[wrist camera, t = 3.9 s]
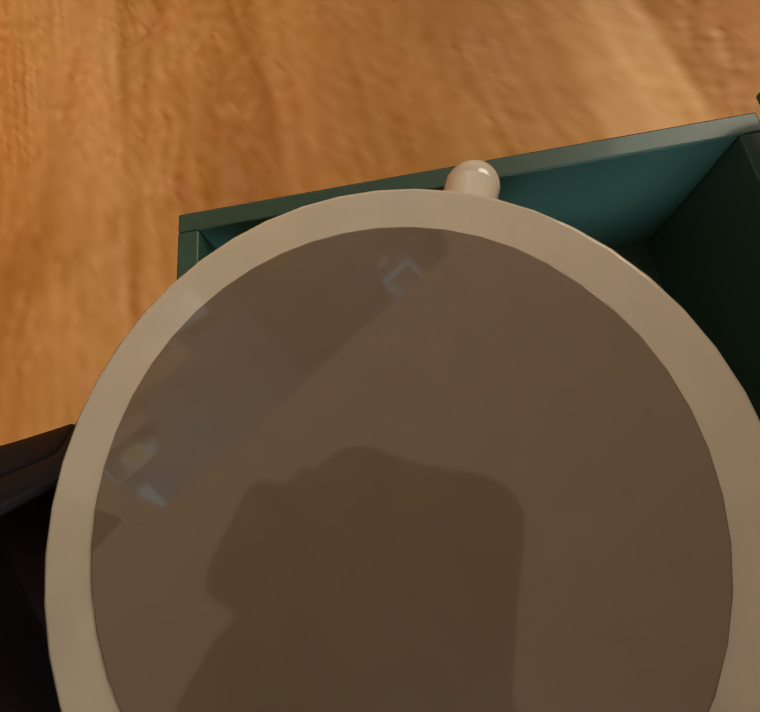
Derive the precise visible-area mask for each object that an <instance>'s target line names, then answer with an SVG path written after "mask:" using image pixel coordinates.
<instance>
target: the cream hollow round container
mask: <svg viewBox="0 0 760 712" xmlns="http://www.w3.org/2000/svg"><path fill="white" fill-rule="evenodd" d="M499 195H500V180H499V176H498V174H497V172H496V170H495V169H494V168H493V167H492V166H491V165H490V164H488V163H487V162H485V161H482V160H477V159H471V160H466V161H463V162H461V163H459V164H458V165H457V166H455V167H454V168H453V169H452V170H451V172H450V173H449V175H448V177H447V179H446V181H445V185H444V189H443V190H429V189H397V190H377V191H370V192H364V193H358V194H351V195H345V196H339V197H335V198H332V199H328V200H324V201H321V202H317V203H313V204H310V205H306V206H302V207H300V208H297V209H295V210H292V211H290V212H287V213H285V214H282V215H280V216H277V217H274V218H272V219H269V220H267V221H265V222H263V223H261V224H259V225H257V226H256V227H254V228H252V229H250V230H248V231H246V232H244V233H242V234H240V235H238V236H236V237H235V238H233V239H231V240H230V241H228V242H227V243H225V244H224V245H222V246H221V247H219V248H218V249H216V250H215V251H213V252H212V253H210V254H209V255H208V256H206V257H205V258H203V259H202V260H200V261H199V262H198V263H197V264H196V265H194V266H193V267H192V268H191V269H190V270H188V271H187V272H186V273H185V274H184V275H182V276H181V277H180V278H179V279H178V280H176V281H175V282H174V283H173V284H172V285H171V286H170V287H169V288H168V289H167V290H166V291H165V292H164V293H163V294H162V295H161V296H160V297H159V298H158V299H157V300H156V301H155V302H154V303H153V304H152V305H151V306H150V307H149V309H148V310H147V311H146V312H145V313H144V314H143V315H142V316H141V318H140V319H139V320H138V321H137V323H136V324H135V325H134V327H133V328H132V329H131V330H130V332H129V333H128V334H127V336H126V337H125V338H124V339H123V341H122V342H121V343H120V345H119V346H118V348H117V349H116V351H115V352H114V354H113V356H112V357H111V359H110V360H109V362H108V364H107V365H106V367H105V368H104V370H103V372H102V373H101V375H100V376H99V378H98V380H97V381H96V383H95V385H94V387H93V390H92V392H91V394H90V396H89V398H88V400H87V402H86V404H85V406H84V408H83V410H82V412H81V414H80V416H79V418H78V421H77V423H76V426H75V429H74V432H73V434H72V437H71V440H70V443H69V445H68V448H67V451H66V454H65V456H64V459H63V462H62V466H61V470H60V474H59V478H58V482H57V486H56V491H55V495H54V499H53V503H52V507H51V514H50V522H49V529H48V537H47V544H46V552H45V583H44V610H45V621H46V632H47V643H48V654H49V660H50V665H51V669H52V674H53V679H54V684H55V689H56V694H57V698H58V703H59V708H60V711H61V712H760V420H759V418H758V416H757V414H756V412H755V410H754V408H753V406H752V404H751V402H750V400H749V398H748V396H747V394H746V392H745V390H744V389H743V387H742V386H741V384H740V383H739V381H738V379H737V378H736V376H735V375H734V373H733V372H732V370H731V369H730V367H729V366H728V364H727V363H726V361H725V360H724V358H723V357H722V355H721V354H720V352H719V351H718V349H717V348H716V346H715V345H714V344H713V343H712V342H711V340H710V339H709V338H708V337H707V336H706V335H705V333H704V332H703V331H702V330H701V329H700V327H699V326H698V325H697V324H696V323H695V321H694V320H693V319H692V318H691V317H690V316H689V314H688V313H687V312H686V311H685V310H684V309H683V308H682V307H681V306H680V305H679V304H678V303H677V302H676V301H675V300H674V299H673V298H672V297H671V296H669V295H668V294H667V293H666V292H665V291H664V290H663V289H662V288H661V287H660V286H659V285H658V284H657V283H656V282H654V281H653V280H652V279H651V278H650V277H649V276H648V275H646V274H645V273H644V272H642V271H641V270H640V269H638V268H637V267H636V266H634V265H633V264H632V263H630V262H629V261H627V260H626V259H625V258H623V257H622V256H621V255H619V254H618V253H617V252H615V251H614V250H613V249H611V248H609V247H607V246H606V245H604V244H602V243H600V242H599V241H597V240H595V239H593V238H592V237H590V236H588V235H586V234H585V233H583V232H581V231H579V230H578V229H576V228H574V227H572V226H570V225H567V224H565V223H563V222H560V221H558V220H556V219H553V218H551V217H549V216H546V215H544V214H542V213H539V212H537V211H535V210H532V209H528V208H525V207H522V206H518V205H515V204H512V203H508V202H505V201H502V200H499Z"/></svg>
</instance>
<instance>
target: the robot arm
mask: <svg viewBox="0 0 760 712" xmlns="http://www.w3.org/2000/svg"><path fill="white" fill-rule="evenodd" d="M76 423H77V422H76ZM75 426H76V424H75V425H73V424H69V425H66V426H63V427H60V428H57V429H54V430H51V431H48V432H45V433H42V434H39V435H35V436H32V437H29V438H26V439H23V440H19V441H16V442H13V443H9V444H6V445H2V446H0V712H61V711H60V708H59V703H58V698H57V694H56V689H55V684H54V679H53V674H52V669H51V665H50V660H49V654H48V643H47V632H46V621H45V610H44V583H45V552H46V544H47V537H48V529H49V522H50V514H51V507H52V503H53V499H54V495H55V491H56V486H57V482H58V478H59V474H60V470H61V466H62V462H63V459H64V456H65V454H66V451H67V448H68V445H69V443H70V440H71V437H72V434H73V432H74V429H75Z"/></svg>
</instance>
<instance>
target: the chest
mask: <svg viewBox="0 0 760 712" xmlns="http://www.w3.org/2000/svg"><path fill="white" fill-rule="evenodd" d="M485 162H487V163H488V164H490V165H491V166H492V167H493V168H494V169H495V170H496V172H497V174H498V176H499V180H500V195H499V200H502V201H505V202H508V203H512V204H515V205H518V206H522V207H525V208H528V209H532V210H535V211H537V212H539V213H542V214H544V215H546V216H549V217H551V218H553V219H556V220H558V221H560V222H563V223H565V224H567V225H570V226H572V227H574V228H576V229H578V230H579V231H581V232H583V233H585V234H586V235H588V236H590V237H592V238H593V239H595V240H597V241H599V242H600V243H602V244H604V245H606V246H607V247H609V248H611V249H613V250H614V251H615V252H617V253H618V254H619V255H621V256H622V257H623V258H625V259H626V260H627V261H629V262H630V263H632V264H633V265H634V266H636V267H637V268H638V269H640V270H641V271H642V272H644V273H645V274H646V275H648V276H649V277H650V278H651V279H652V280H653V281H654V282H656V283H657V284H658V285H659V286H660V287H661V288H662V289H663V290H664V291H665V292H666V293H667V294H668V295H669V296H671V297H672V298H673V299H674V300H675V301H676V302H677V303H678V304H679V305H680V306H681V307H682V308H683V309H684V310H685V311H686V312H687V313H688V314H689V316H690V317H691V318H692V319H693V320H694V321H695V323H696V324H697V325H698V326H699V327H700V329H701V330H702V331H703V332H704V333H705V335H706V336H707V337H708V338H709V339H710V340H711V342H712V343H713V344H714V345H715V346H716V348H717V349H718V351H719V352H720V354H721V355H722V357H723V358H724V360H725V361H726V363H727V364H728V366H729V367H730V369H731V370H732V372H733V373H734V375H735V376H736V378H737V379H738V381H739V383H740V384H741V386H742V387H743V389H744V390H745V392H746V394H747V396H748V398H749V400H750V402H751V404H752V406H753V408H754V410H755V412H756V414H757V416H758V418H759V420H760V121H759V118H758V116H757V114H756V113H750V114H744V115H739V116H733V117H727V118H722V119H716V120H711V121H705V122H699V123H694V124H688V125H683V126H677V127H671V128H666V129H660V130H655V131H649V132H643V133H638V134H632V135H627V136H621V137H615V138H610V139H604V140H599V141H593V142H587V143H582V144H576V145H571V146H565V147H559V148H554V149H548V150H543V151H537V152H531V153H526V154H520V155H515V156H509V157H503V158H498V159H492V160H487V161H485ZM454 167H455V166H453V167H447V168H442V169H436V170H431V171H425V172H419V173H414V174H408V175H403V176H397V177H391V178H386V179H380V180H375V181H369V182H363V183H358V184H352V185H347V186H341V187H335V188H330V189H324V190H319V191H313V192H307V193H302V194H296V195H291V196H285V197H279V198H274V199H268V200H263V201H257V202H251V203H246V204H240V205H235V206H229V207H223V208H218V209H212V210H207V211H201V212H195V213H190V214H184V215H180V216H179V236H178V262H177V280H178V279H179V278H180V277H181V276H182V275H184V274H185V273H186V272H187V271H188V270H190V269H191V268H192V267H193V266H194V265H196V264H197V263H198V262H199V261H200V260H202V259H203V258H205V257H206V256H208V255H209V254H210V253H212V252H213V251H215V250H216V249H218V248H219V247H221V246H222V245H224V244H225V243H227V242H228V241H230V240H231V239H233V238H235V237H236V236H238V235H240V234H242V233H244V232H246V231H248V230H250V229H252V228H254V227H256V226H257V225H259V224H261V223H263V222H265V221H267V220H269V219H272V218H274V217H277V216H280V215H282V214H285V213H287V212H290V211H292V210H295V209H297V208H300V207H302V206H306V205H310V204H313V203H317V202H321V201H324V200H328V199H332V198H335V197H339V196H345V195H351V194H358V193H364V192H370V191H377V190H397V189H429V190H443V189H444V185H445V181H446V179H447V177H448V175H449V173H450V172H451V170H452V169H453V168H454Z"/></svg>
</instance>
